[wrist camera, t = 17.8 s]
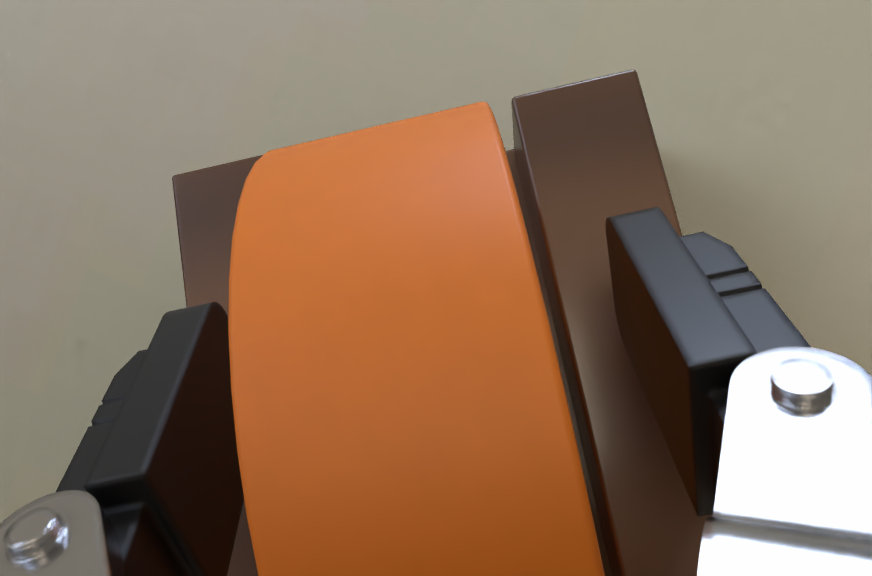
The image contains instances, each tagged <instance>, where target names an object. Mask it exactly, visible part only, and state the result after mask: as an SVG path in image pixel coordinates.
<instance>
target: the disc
mask: <svg viewBox="0 0 872 576" xmlns="http://www.w3.org/2000/svg"><path fill="white" fill-rule="evenodd" d="M228 334H229V355H230V376H231V393H232V403H233V414H234V424H235V434H236V444H237V453H238V460H239V467H240V474H241V480H242V487H243V494H244V501H245V508H246V514H247V520H248V525H249V530H250V535H251V540H252V545H253V551H254V556H255V561H256V566H257V571H258V576H605V573H604V569H603V564H602V559H601V554H600V549H599V544H598V540H597V535H596V530H595V525H594V520H593V516H592V511H591V506H590V502H589V497H588V493H587V488H586V483H585V479H584V474H583V469H582V465H581V460H580V456H579V451H578V447H577V442H576V438H575V433H574V429H573V424H572V420H571V415H570V411H569V406H568V402H567V397H566V393H565V389H564V384H563V380H562V376H561V371H560V367H559V363H558V358H557V354H556V350H555V345H554V341H553V337H552V333H551V328H550V324H549V320H548V316H547V311H546V307H545V303H544V299H543V295H542V291H541V287H540V282H539V278H538V274H537V270H536V266H535V262H534V258H533V254H532V250H531V246H530V242H529V238H528V234H527V230H526V226H525V222H524V218H523V214H522V210H521V207H520V203H519V199H518V195H517V192H516V188H515V184H514V180H513V177H512V173H511V169H510V166H509V162H508V159H507V155H506V152H505V148H504V145H503V142H502V138H501V135H500V132H499V129H498V126H497V123H496V120H495V117H494V115H493V112H492V110H491V108H490V107H489V105H488V104H487V103H486V102H478V103H474V104H470V105H465V106H461V107H457V108H453V109H448V110H444V111H440V112H435V113H431V114H427V115H422V116H418V117H414V118H409V119H405V120H401V121H396V122H392V123H388V124H383V125H379V126H375V127H370V128H366V129H362V130H358V131H353V132H349V133H345V134H340V135H336V136H332V137H327V138H323V139H319V140H314V141H310V142H306V143H301V144H297V145H293V146H288V147H284V148H280V149H275V150H271V151H268V152H267V153H265V154H264V155H263V156H262V157H261V158H260V159H259V160H258V161H256V162H255V164H254V165H253V167H252V169H251V171H250V173H249V174H248V176H247V178H246V180H245V183H244V187H243V190H242V193H241V196H240V199H239V202H238V207H237V213H236V219H235V224H234V230H233V236H232V247H231V259H230V272H229V318H228Z"/></svg>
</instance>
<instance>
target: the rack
mask: <svg viewBox="0 0 872 576" xmlns="http://www.w3.org/2000/svg"><path fill="white" fill-rule="evenodd" d="M512 118H513V135H514V149H512V150H508V151H505V152H506V155H507V159H508V162H509V166H510V169H511V173H512V177H513V180H514V184H515V188H516V192H517V195H518V199H519V203H520V207H521V210H522V214H523V218H524V222H525V226H526V230H527V234H528V238H529V242H530V246H531V250H532V254H533V258H534V262H535V266H536V270H537V274H538V278H539V282H540V287H541V291H542V295H543V299H544V303H545V307H546V311H547V316H548V320H549V324H550V328H551V333H552V337H553V341H554V345H555V350H556V354H557V358H558V363H559V367H560V371H561V376H562V380H563V384H564V389H565V393H566V397H567V402H568V406H569V411H570V415H571V420H572V424H573V429H574V433H575V438H576V442H577V447H578V451H579V456H580V460H581V465H582V469H583V474H584V479H585V483H586V488H587V493H588V497H589V502H590V506H591V511H592V516H593V520H594V525H595V530H596V535H597V540H598V544H599V549H600V554H601V559H602V564H603V569H604V573H605V576H697V570H698V563H699V555H700V548H701V540H702V534H703V528H704V523H705V520H706V517H707V516H713V514H711V515H705V516H700V517H698V516H697V514H696V512H695V509H694V507H693V505H692V502H691V500H690V498H689V495H688V493H687V491H686V488H685V486H684V484H683V481H682V479H681V477H680V475H679V472H678V470H677V468H676V465H675V463H674V461H673V458H672V456H671V454H670V451H669V449H668V447H667V444H666V442H665V440H664V437H663V435H662V433H661V431H660V428H659V426H658V424H657V421H656V419H655V417H654V414H653V412H652V410H651V407H650V405H649V403H648V400H647V398H646V396H645V394H644V391H643V389H642V387H641V384H640V382H639V380H638V377H637V375H636V373H635V370H634V368H633V366H632V363H631V361H630V359H629V356H628V354H627V352H626V349H625V347H624V344H623V341H622V338H621V335H620V331H619V327H618V322H617V318H616V312H615V305H614V297H613V289H612V280H611V272H610V263H609V255H608V247H607V238H606V218H607V217H612V216H617V215H621V214H626V213H630V212H635V211H640V210H644V209H649V208H653V207H659V208H660V209H661V210H662V212H663V213H664V215H665V216H666V217H667V219H668V220H669V222H670V223H671V225H672V226H673V228H674V229H675V231H676V232H677V234H678V235H679V237H681V236H682V233H681V229H680V226H679V222H678V218H677V215H676V211H675V208H674V204H673V201H672V197H671V193H670V190H669V186H668V183H667V179H666V175H665V172H664V168H663V165H662V161H661V157H660V154H659V150H658V147H657V143H656V139H655V136H654V132H653V129H652V125H651V121H650V118H649V114H648V111H647V107H646V103H645V100H644V96H643V93H642V89H641V86H640V82H639V78H638V75H637V72H636V71H635V70H629V71H624V72H620V73H616V74H611V75H607V76H603V77H598V78H594V79H590V80H585V81H581V82H577V83H572V84H568V85H564V86H559V87H555V88H551V89H546V90H542V91H538V92H534V93H529V94H525V95H521V96H516V97H514V98H512ZM262 156H263V155H261V156H256V157H252V158H248V159H243V160H239V161H235V162H230V163H226V164H222V165H217V166H213V167H209V168H204V169H200V170H196V171H191V172H187V173H183V174H178V175H174V176H173V178H172V181H173V190H174V199H175V207H176V216H177V225H178V234H179V243H180V252H181V261H182V270H183V279H184V287H185V296H186V305H187V308H188V307H193V306H197V305H202V304H207V303H211V302H217V303H219V304H220V305H221V306H222V307H223V309H224V310H225V312H226V314H227V316H228V318H229V272H230V259H231V247H232V236H233V230H234V224H235V219H236V213H237V207H238V202H239V199H240V196H241V193H242V190H243V187H244V183H245V180H246V178H247V176H248V174H249V173H250V171H251V169H252V167H253V165H254V164H255V162H256V161H258V160H259V159H260V158H261V157H262ZM227 576H258V571H257V566H256V561H255V556H254V551H253V545H252V540H251V535H250V530H249V525H248V520H247V514H246V508H245V501H244V502H243V506H242V511H241V515H240V520H239V524H238V529H237V533H236V538H235V542H234V547H233V551H232V555H231V560H230V564H229V569H228V573H227Z"/></svg>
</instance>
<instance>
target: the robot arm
mask: <svg viewBox="0 0 872 576" xmlns="http://www.w3.org/2000/svg"><path fill="white" fill-rule="evenodd" d="M606 238H607V247H608V255H609V263H610V272H611V280H612V289H613V297H614V305H615V312H616V318H617V322H618V327H619V331H620V335H621V338H622V341H623V344H624V347H625V349H626V352H627V354H628V356H629V359H630V361H631V363H632V366H633V368H634V370H635V373H636V375H637V377H638V380H639V382H640V384H641V387H642V389H643V391H644V394H645V396H646V398H647V400H648V403H649V405H650V407H651V410H652V412H653V414H654V417H655V419H656V421H657V424H658V426H659V428H660V431H661V433H662V435H663V437H664V440H665V442H666V444H667V447H668V449H669V451H670V454H671V456H672V458H673V461H674V463H675V465H676V468H677V470H678V472H679V475H680V477H681V479H682V481H683V484H684V486H685V488H686V491H687V493H688V495H689V498H690V500H691V502H692V505H693V507H694V509H695V512H696V514H697V516H698V517H700V516H705V515H711V514H713V516H707V517H706V520H705V523H704V528H703V534H702V540H701V548H700V555H699V563H698V570H697V576H872V377H871V376H870V375H869V374H868V373H867V372H866V371H865V370H864V369H863V368H862V367H860V366H859V365H858V364H856V363H855V362H853V361H851V360H850V359H848V358H846V357H843V356H841V355H839V354H836V353H833V352H829V351H826V350H821V349H817V348H811V347H810V345H809V344H808V343H807V342H806V340H805V339H804V338H803V336H802V335H801V334H800V333H799V331H798V330H797V329H796V327H795V326H794V325H793V324H792V322H791V321H790V320H789V319H788V317H787V316H786V315H785V313H784V312H783V311H782V310H781V308H780V307H779V306H778V305H777V303H776V302H775V301H774V299H773V298H772V297H771V296H770V294H769V293H768V292H767V291H766V289H765V288H764V289H762V286H761V283H760V282H759V280H758V279H757V278H756V277H755V275H754V274H753V273H752V271H749V270H748V266H747V265H746V264H745V263H744V261H743V260H742V259H741V257H740V256H739V255H738V254H737V252H736V251H735V250H734V249H733V247H732V246H730V245H728V244H726V243H724V242H722V241H720V240H718V239H716V238H714V237H712V236H710V235H708V234H706V233H704V232H700V233H695V234H690V235H686V236H681V237H679V235H678V234H677V232H676V231H675V229H674V228H673V226H672V225H671V223H670V222H669V220H668V219H667V217H666V216H665V215H664V213H663V212H662V210H661V209H660V208H659V207H653V208H649V209H644V210H640V211H635V212H630V213H626V214H621V215H617V216H612V217H607V218H606ZM102 402H103V405H100V406H99V407H98V409H97V411H96V413H95V415H94V417H93V419H92V421H91V422H92V426H90V427H88V429H87V431H86V433H85V435H84V437H83V439H82V441H81V443H80V445H79V447H78V449H77V451H76V453H75V455H74V457H73V459H72V461H71V463H70V465H69V467H68V469H67V471H66V473H65V475H64V477H63V478H62V480H61V482H60V484H59V486H58V488H57V490H56V492H55V493H52V494H49V495H46V496H44V497H41V498H39V499H36V500H34V501H33V502H31V503H29V504H27V505H25V506H24V507H22V508H20V509H19V510H17V511H16V512H14V513H13V514H12V515H10V516H9V517H8V518H7V519H5V520H4V521H3V522H2V523H1V524H0V576H227V573H228V569H229V564H230V560H231V555H232V551H233V547H234V542H235V538H236V533H237V529H238V524H239V520H240V515H241V511H242V506H243V502H244V494H243V487H242V480H241V474H240V467H239V460H238V453H237V444H236V434H235V424H234V414H233V403H232V393H231V376H230V355H229V334H228V316H227V314H226V312H225V310H224V309H223V307H222V306H221V305H220V304H219V303H217V302H211V303H207V304H202V305H197V306H193V307H188V308H184V309H179V310H174V311H170V312H167V313H165V314H164V316H163V318H162V320H161V322H160V324H159V326H158V328H157V330H156V332H155V335H154V337H153V339H152V341H151V343H150V345H149V347H148V349H147V350H142V351H138V352H137V354H136V355H135V356H134V357H133V358H132V359H131V360H130V361H129V362H128V363H127V364H126V365H125V366H124V367H123V368H122V369H121V370H120V371H119V372H118V373H117V374H116V375H115V376H114V378H113V380H112V382H111V384H110V386H109V388H108V390H107V392H106V394H105V396H104V398H103V400H102Z"/></svg>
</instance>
